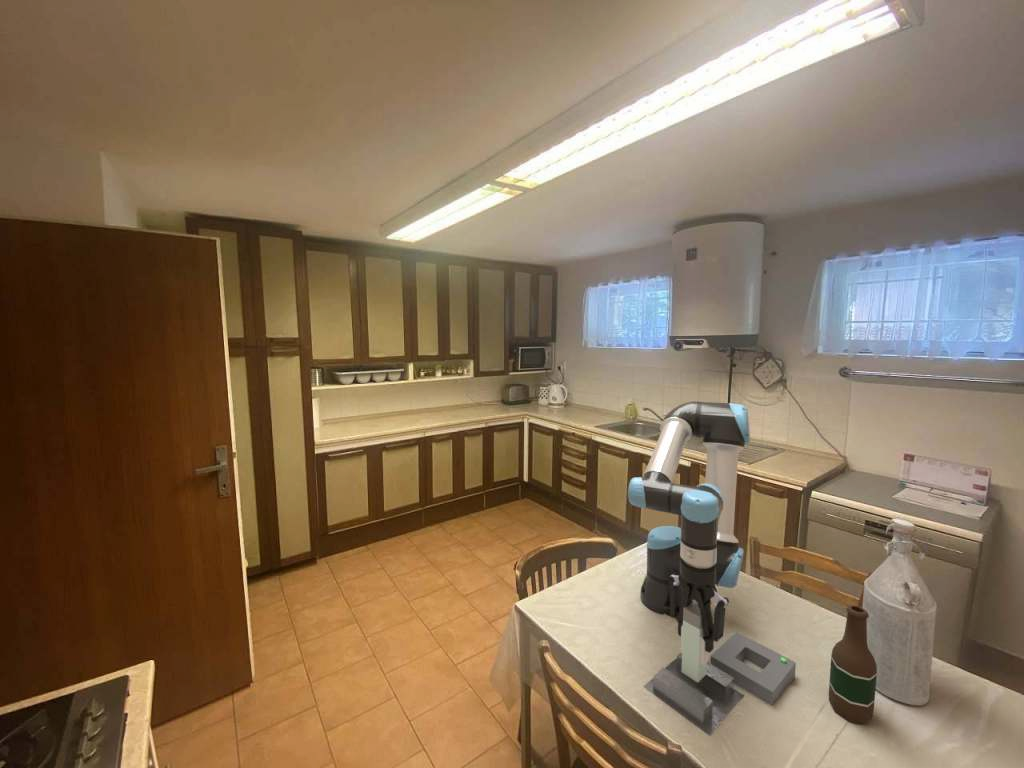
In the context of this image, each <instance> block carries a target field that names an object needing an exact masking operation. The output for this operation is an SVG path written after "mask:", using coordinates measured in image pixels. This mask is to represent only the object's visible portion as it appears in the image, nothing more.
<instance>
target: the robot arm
mask: <svg viewBox="0 0 1024 768" xmlns="http://www.w3.org/2000/svg"><path fill="white" fill-rule="evenodd" d="M748 413H749V412H748V409H747V407H746V406H745V405H743V404H740V403H739V404H738V403H731V402H729V403H728V402H709V401H695V400H694V401H687V402H684V403H681V404H680V405H678V406H676V407H674V408H673V409H671V410H670V411H669V412H668V413H667V414H666V415H665V416H664V417H663V419H662V421H661V423H660V425H659V430H660V431H659V432H660V435H659V437H658V439H657V441H656V444H655V446H654V449H653V452H652V454H651V456H650V459H649V462H648V463H647V466H646V469H645V471H644V473H643V476H642V477H641V476H639V477H636V476H635V477H632V478H631V479H630V481H629V484H628V490H627V497H628V503H630V505H632V506H635V507H638V508H642V509H644V510H650V511H651V510H652V511H655V512H656V511H657V512H662V513H668V514H673V515H677V516H680V519H681V520H680V522H681V523H680V524H681V525H680V527H679V526H675V525H662V526H657V527H654V528H652V529H651V530H650V531H649V532H648V535H647V543H646V573H645V574H646V575H645V577H644V580H643V582H642V585H641V587H640V601H641V603H643V604H644V605H645V606H646V607H647V608H649V609H650V610H651V611H654V612H656V613H659V614H662V615H667V616H670V617H671V618H672V619H675V621H677V634H678V636H679V637H680V653H681V652H682V637H683V608H684V607H687V606H689V605H690V604H691V603H692V601H694V602H696V603H697V604H698V607H699V608H700V612H701V615H702V625H703V631H704V635H703V636H702V637H701V650H700V664H701V665H704V664H706V663H707V662H708V663H709V661H710V654H711V652H712V651H713V650H714V642H715V643H717V642H718V641H720V640H721V639H722V638H723V637H724V630H725V629H724V628H725V617H726V607H727V606H728V604H729V602H730V599H729V598H728V597H727V596H722V595H720V594H719V593H718V590H717V588H716V586H717V587H723V588H728V589H734V588H735V587H736V586H737V583H738V581H739V576H740V572H741V568H742V562H743V558H744V557H743V556H744V549H743V548H741V547H739V539H738V538H737V537H736V536H735V535H734V530H735V529H734V527H735V514H736V513H735V512H736V511H735V510H736V496H737V495H736V494H737V493H736V492H737V480H738V464H739V463H738V461H739V453H740V452H742V451H743V450H744V449H745V444H749V443H750V442H751V434H750V433H751V432H750V423H749V415H748ZM691 438H698V439H702V445H703V446H704V447H705V448H706V450H707V453H706V466H705V477H704V483H700V484H698V485H696V486H693V485H687V484H681V483H680V484H679V483H674V479H675V477H676V476H675V475H676V473H677V470H678V467H679V465H680V464H679V463H680V461H681V458H682V455H683V452H684V448H685V445H686V443H687V442H688V441H690V440H691ZM712 598H713V599H714V605H715V607H714V613H713V614H712V612H713V611H712V606H711V605H712V601H711V599H712Z"/></svg>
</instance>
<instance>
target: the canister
mask: <svg viewBox="0 0 1024 768" xmlns="http://www.w3.org/2000/svg"><path fill="white" fill-rule="evenodd" d="M891 530H892V531H893V532H892V533H893V534H892V539H891V541H888V542H887V543H886V544H883V549H884V550H885V552H886V555H887V558H886V559H885V560H884V561H883V562H882V563H880V565H878V567H877V568H876V569H875V570H874V571H873V572H872V573H871V574H870V575H869V576H868V577H866V578H865V579H864V582H863V596H862V597H863V598H862V607H861V608H863V609H865V610H866V611H867V613H868V616H869V617H868V618H867V645H868V649H869V651H870V652H871V654H872V655H873V657H874V659H875V662H876V665H877V677H876V690H875V691H878V692H879V693H881V694H883V695H884V696H886V697H888V698H890V699H893V700H895V701H897V702H901V703H903V704H908V705H911V706H912V705H913V706H924V705H926V704H927V703H928V702H929V701H930V687H931V676H932V663H933V653H934V639H935V628H936V617H937V608H938V604H937V602H936V600H935V599H934V597H933V596H932V594H931V593H930V590H929V588H928V586H927V585H926V583H925V580H924V578H923V577H922V575H921V573H920V571H919V570H918V568H917V565H915V563H914V560H913V558H912V557H911V555H912V551H913V550H916V551H918V552H919V553H918V554H917V555H918V556H917V557H918V558H917V559H918V561H919V562H922V561H923V559H924V558H925V557H926V553H924V552H922V551H921V548H920V547H919V546H918V545H917V544H916V543H914V541H912V540H913V535H914V534H915V533H916V532H917V531H918V532H919V533H920V532H921V531H920V528H917V526H916V525H915V524H914V523H912V522H910V521H907V520H904V519H899V518H892V519H891V524H888V526H887V528H886V531H885V534H886V535H887V534H888V531H891ZM921 539H923V537H921ZM885 540H886V539H884V541H885Z"/></svg>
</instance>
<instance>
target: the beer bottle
mask: <svg viewBox="0 0 1024 768" xmlns="http://www.w3.org/2000/svg"><path fill="white" fill-rule="evenodd" d="M845 611H846V612H847V615H846V621H845V626H844V627H845V628H844V633H843V636H842V639H841V640H839V641H838V642H837V643H835V644H834V646H833V648H832V650H831V656H830V669H829V685H828V701H829V703H830V705H831V707H832V709H833V710H834V712H835V714H837V715H839V716H840V717H842V719H845V720H846V721H848V722H849V723H854V724H857V725H858V724H859V725H863V726H866V725H867V724H869V722H870V721H872V719H873V717H874V711H875V702H876V701H875V700H876V691H877V690H876V677H877V665H876V662H875V659H874V657H873V655H872V654H871V652H870V651H869V649H868V645H867V618H868V617H869V616H868V613H867V611H866V610H865V609H863V608H862V607H861V606H858V605H855V604H850V605H847V607H846V610H845Z"/></svg>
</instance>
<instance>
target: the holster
mask: <svg viewBox="0 0 1024 768" xmlns="http://www.w3.org/2000/svg"><path fill="white" fill-rule="evenodd" d="M681 671H682V652H681V651H680V653H678V654H677V655H676V658H675V659H674V660H673V661H671V662H670V663H669V664H667V666H666V667H662V668H661V669H660V670H658V671H657V673H655V674H654V675H653V677H652V678H651V679H650V680H649V681H648V682H647V683H645V685H643V688H644V689H646V690H647V691H648V692H650V693H651V694H653V695H654V696H655V697H657V698H658V699H659V700H661V701H662V702H663V703H665V704H666V705H667V706H669V707H670V708H671V709H673V710H674V711H676V712H677V713H678V714H680V715H681V716H682V717H684V718H685V719H686V720H688V721H689V722H690V723H691V724H693V725H695V726H696V727H697V728H698V729H700V730H701V731H703V733H705V734H707V735H708V736H710V737H711V735H713V733H714V732H715V731H716V730H717V728H718V727H719V726H720V725H721V723H722V722H723V721H725V719H726V718H728V716H729V714H730V713H731V712H732V711H733V710H734V709H735V707H737V705H739V702H741V700H742V699H743V698H744V697H745V695H744V694H743V693H741V692H740V691H739V690H737V689H735V688H734V687H735V683H734V678H733V677H731V676H730V675H728V674H727V673H725V672H723V671H722V670H720V669H718V668H717V667H715V666H713V665H712V664H710V662H709V661H708V662H707V674H706V675H705V676H704V677H703V678H702V679H701V680H700V681H699V682H696V681H695V680H693V679H691V678H690V677H688V676H687V675H685V674H684V673H682V672H681Z"/></svg>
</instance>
